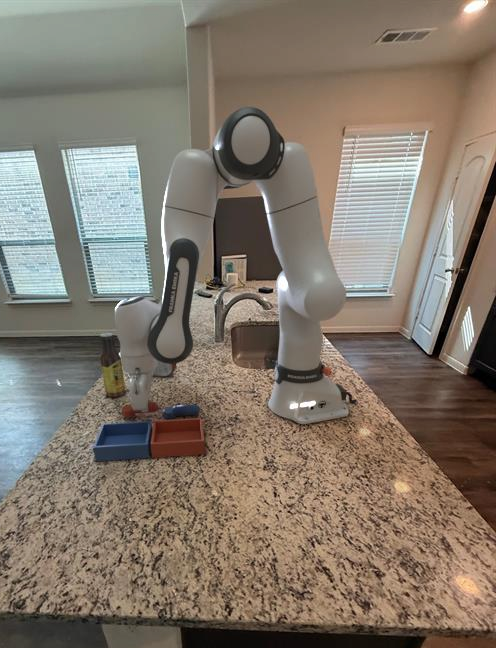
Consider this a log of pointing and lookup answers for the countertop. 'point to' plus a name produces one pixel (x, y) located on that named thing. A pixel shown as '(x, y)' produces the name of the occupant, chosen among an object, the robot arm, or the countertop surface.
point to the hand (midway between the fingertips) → (146, 406)
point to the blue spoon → (181, 410)
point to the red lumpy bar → (128, 410)
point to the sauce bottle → (111, 367)
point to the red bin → (177, 438)
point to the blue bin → (123, 441)
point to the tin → (164, 369)
